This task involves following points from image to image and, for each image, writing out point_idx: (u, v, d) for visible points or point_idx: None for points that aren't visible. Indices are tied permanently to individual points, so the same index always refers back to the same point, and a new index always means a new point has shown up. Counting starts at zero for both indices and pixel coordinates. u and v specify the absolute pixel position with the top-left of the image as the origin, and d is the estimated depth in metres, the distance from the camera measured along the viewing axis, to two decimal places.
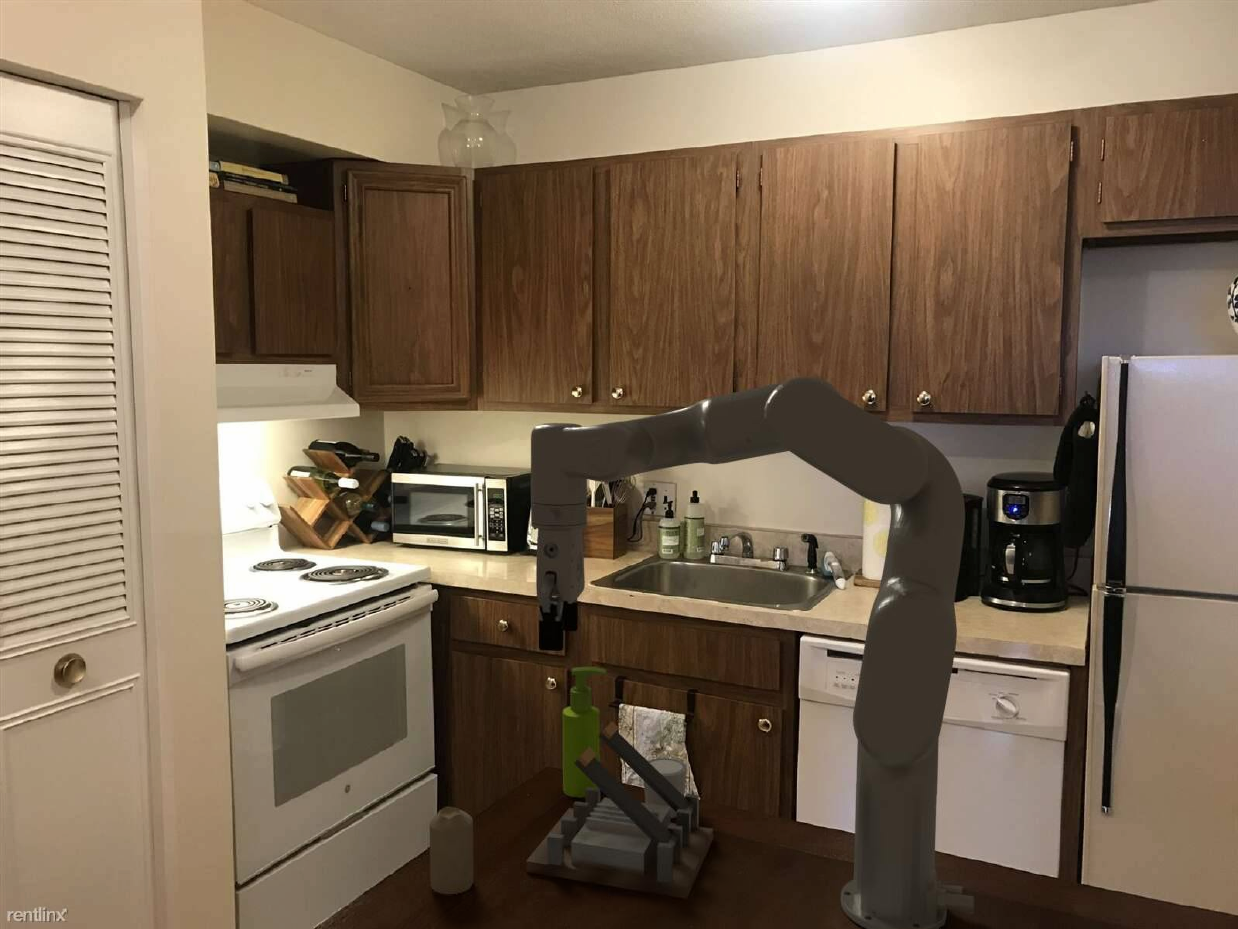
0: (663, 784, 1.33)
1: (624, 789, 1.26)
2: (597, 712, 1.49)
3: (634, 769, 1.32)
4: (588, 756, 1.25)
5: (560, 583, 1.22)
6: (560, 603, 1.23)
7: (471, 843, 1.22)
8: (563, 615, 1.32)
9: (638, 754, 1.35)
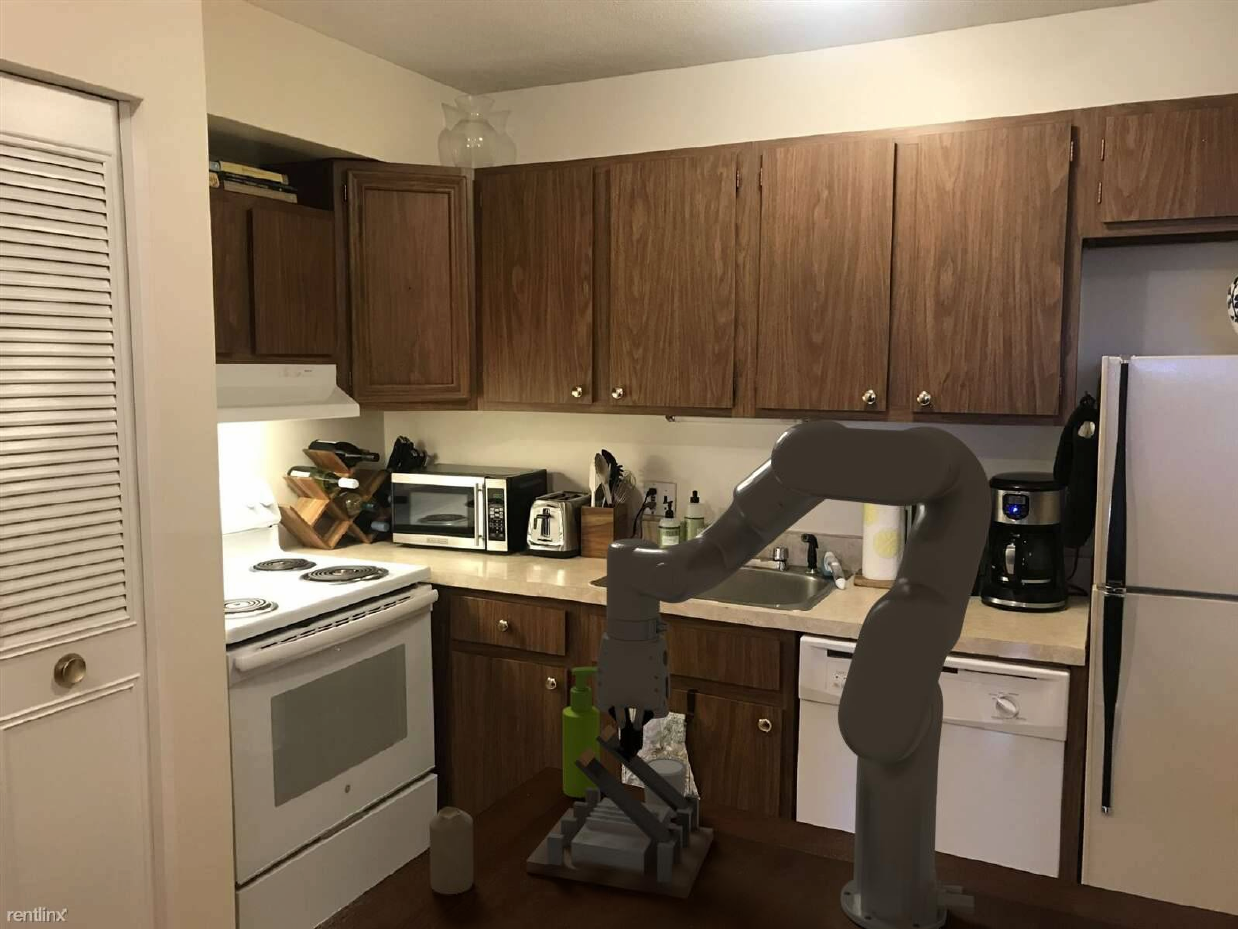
0: (662, 785, 1.33)
1: (624, 789, 1.26)
2: (597, 712, 1.49)
3: (632, 771, 1.32)
4: (588, 756, 1.25)
5: (669, 685, 1.33)
6: None
7: (471, 843, 1.22)
8: None
9: (636, 756, 1.35)
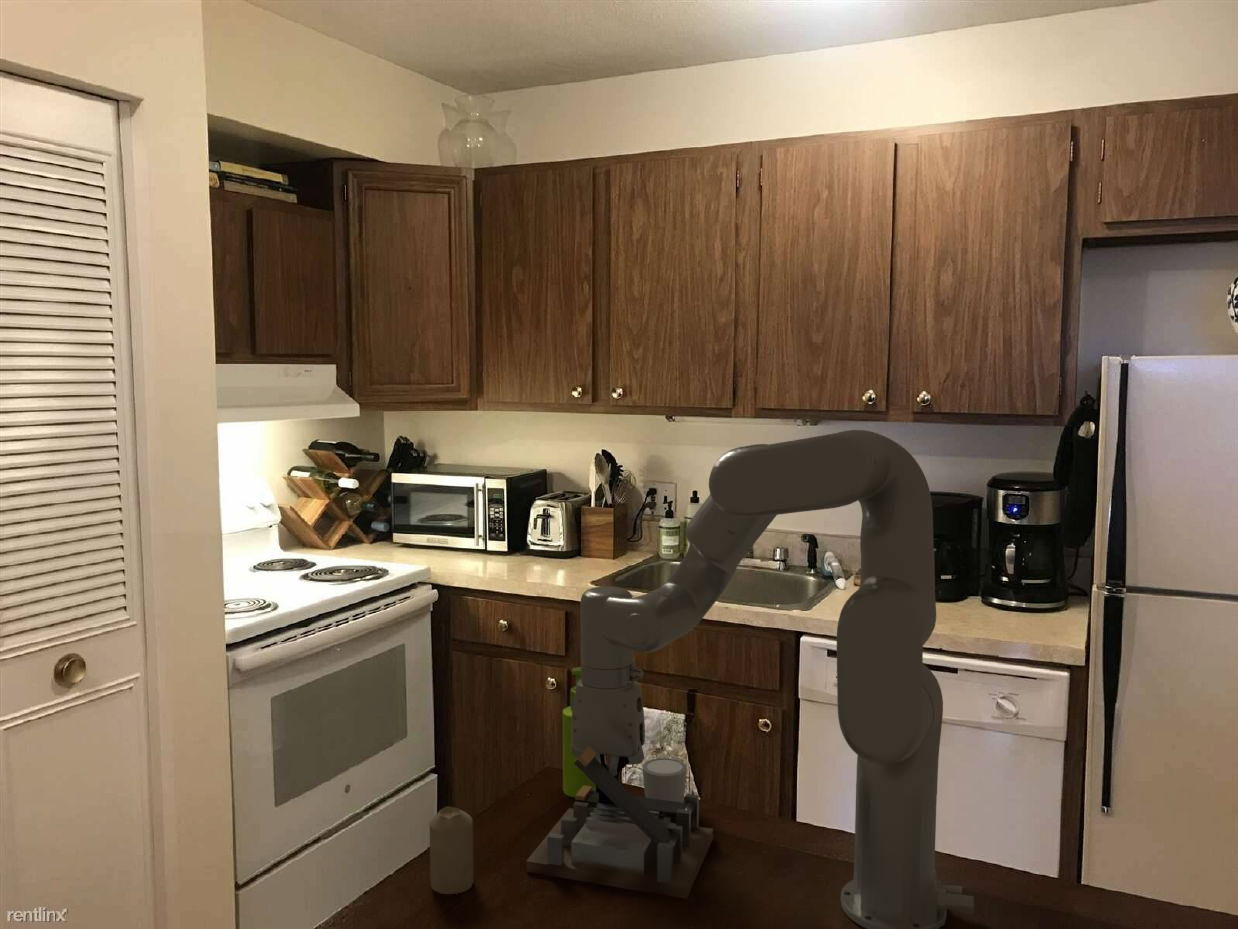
0: (654, 804, 1.34)
1: (624, 789, 1.26)
2: None
3: None
4: (588, 756, 1.25)
5: (643, 731, 1.35)
6: None
7: (471, 843, 1.22)
8: None
9: None
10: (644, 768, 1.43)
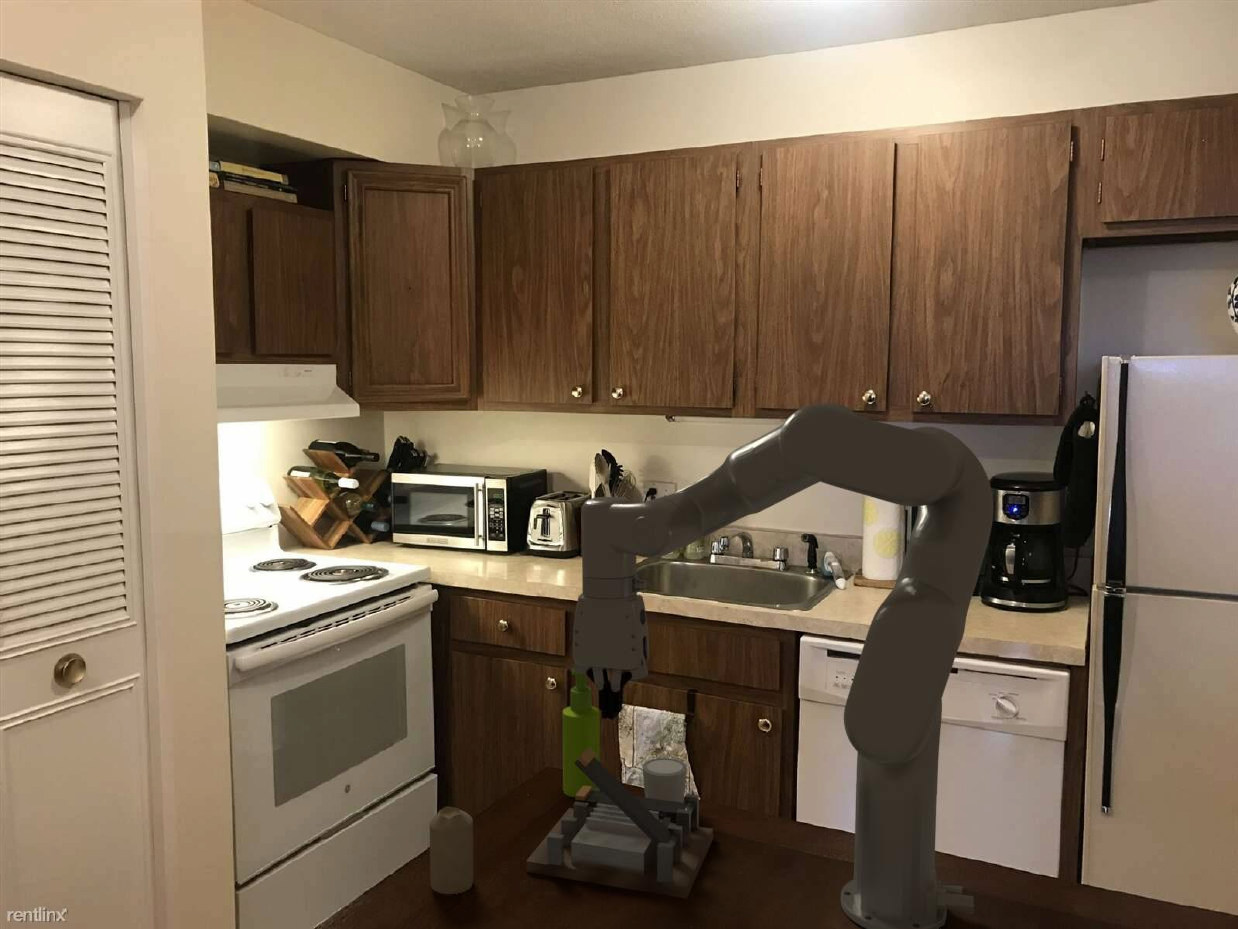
0: (654, 804, 1.34)
1: (624, 789, 1.26)
2: (597, 712, 1.49)
3: None
4: (588, 756, 1.25)
5: (647, 645, 1.30)
6: (626, 671, 1.32)
7: (471, 843, 1.22)
8: None
9: None
10: (644, 768, 1.43)
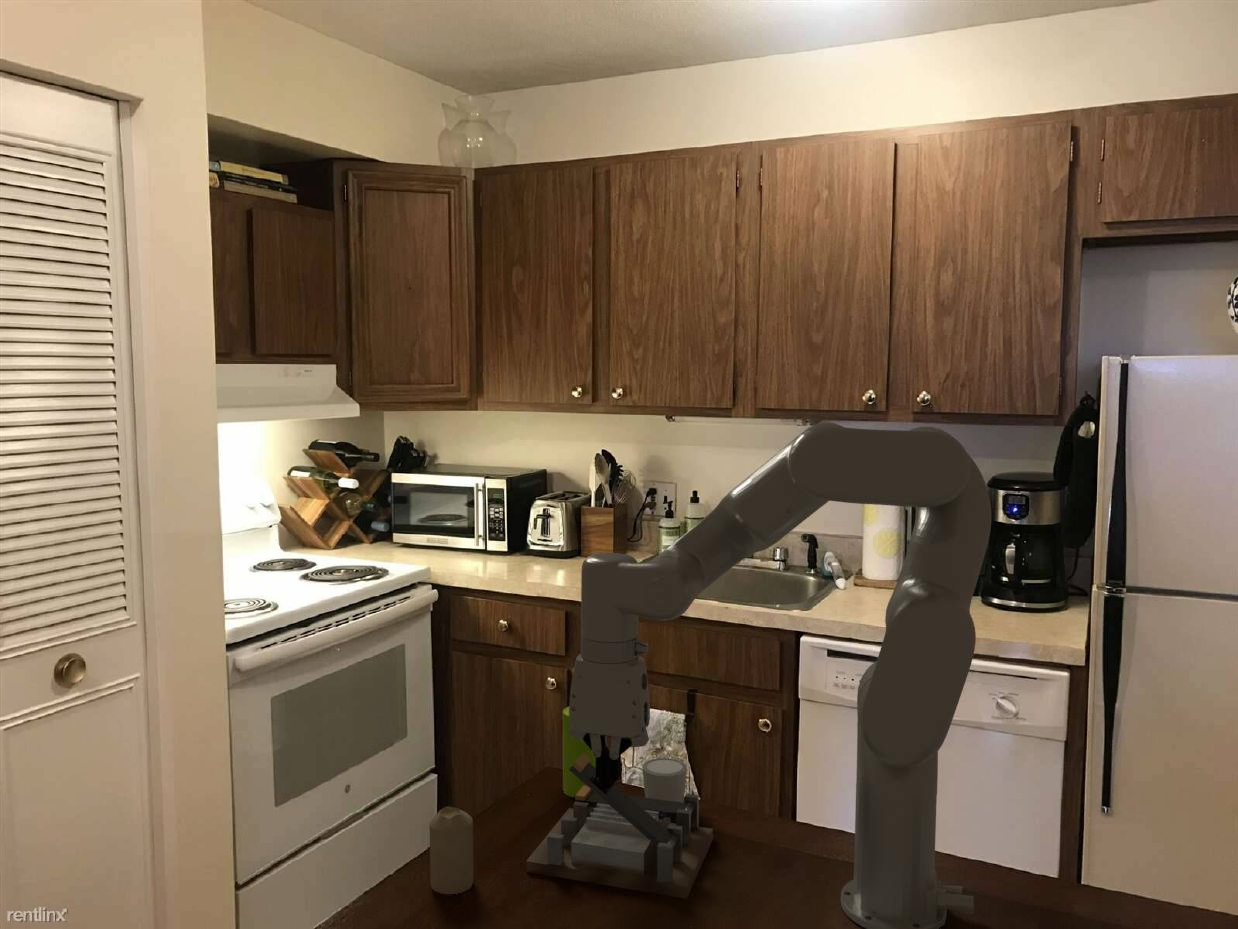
0: (654, 804, 1.34)
1: (621, 792, 1.26)
2: None
3: None
4: (583, 762, 1.25)
5: (648, 710, 1.24)
6: None
7: (471, 843, 1.22)
8: None
9: None
10: (644, 768, 1.43)
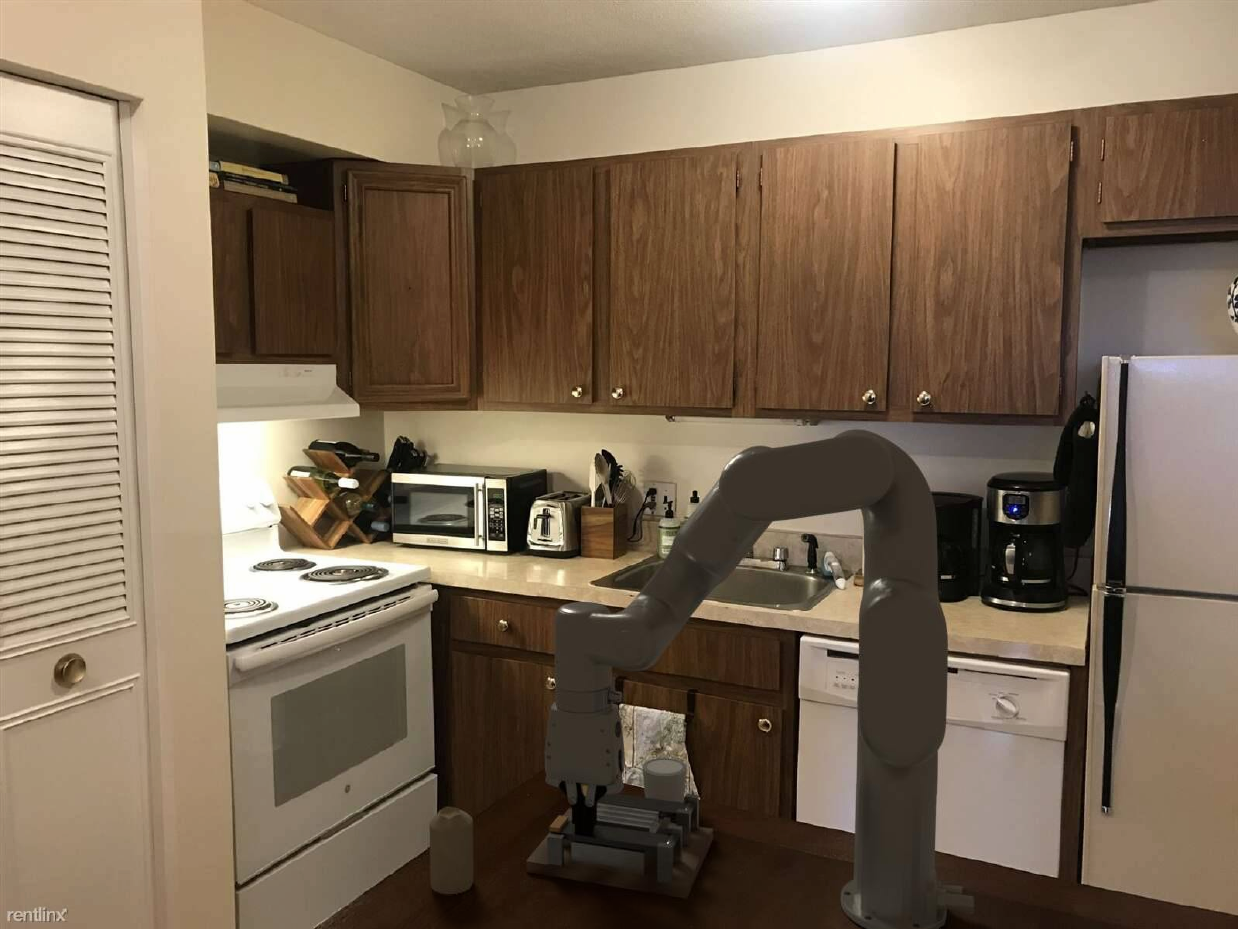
0: (654, 804, 1.34)
1: (607, 828, 1.27)
2: None
3: None
4: (558, 822, 1.27)
5: (623, 757, 1.25)
6: None
7: (471, 843, 1.22)
8: None
9: (620, 796, 1.37)
10: (644, 768, 1.43)
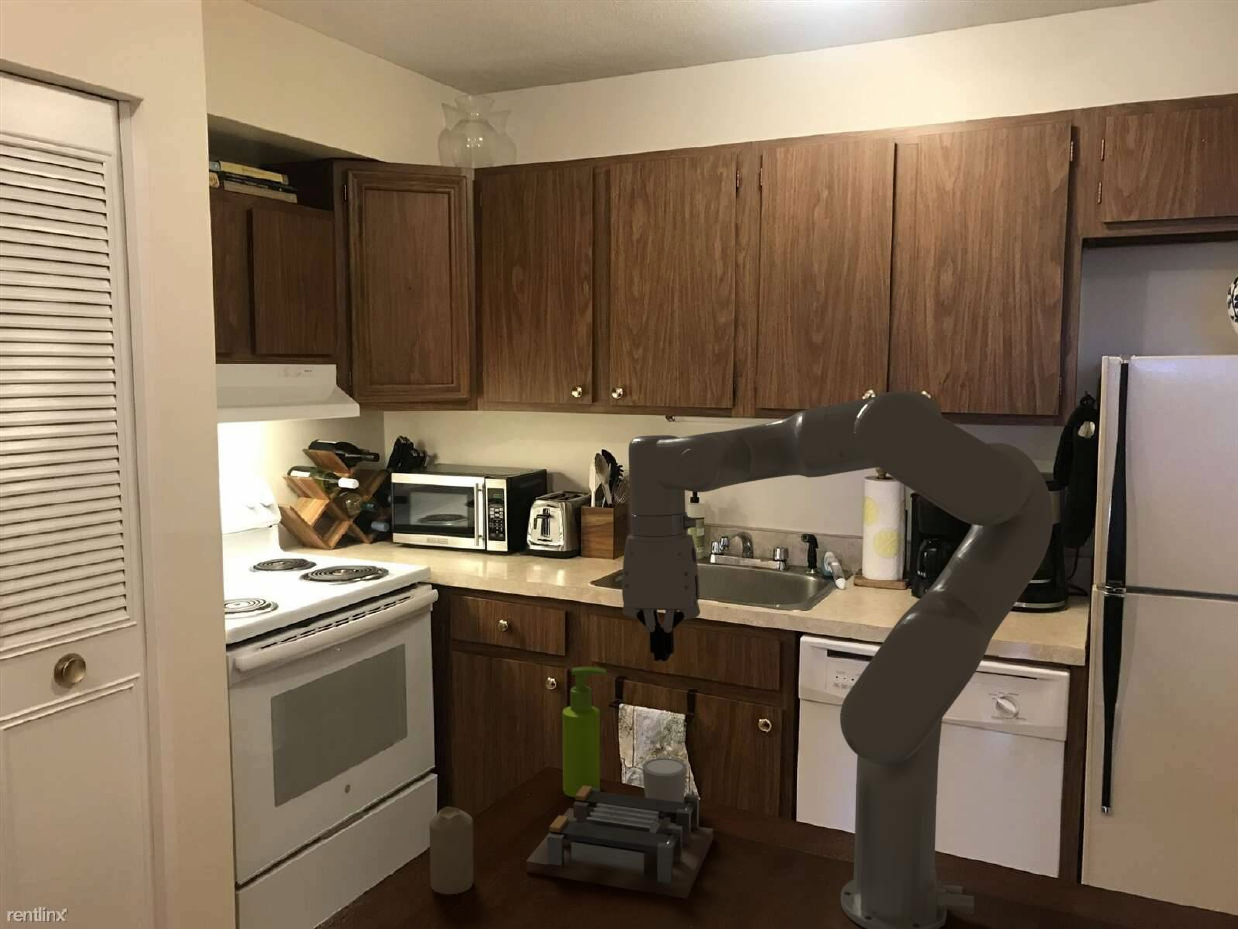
0: (654, 804, 1.34)
1: (607, 828, 1.27)
2: (597, 712, 1.49)
3: None
4: (558, 822, 1.27)
5: (698, 584, 1.29)
6: (677, 612, 1.30)
7: (471, 843, 1.22)
8: None
9: (620, 796, 1.37)
10: (644, 768, 1.43)
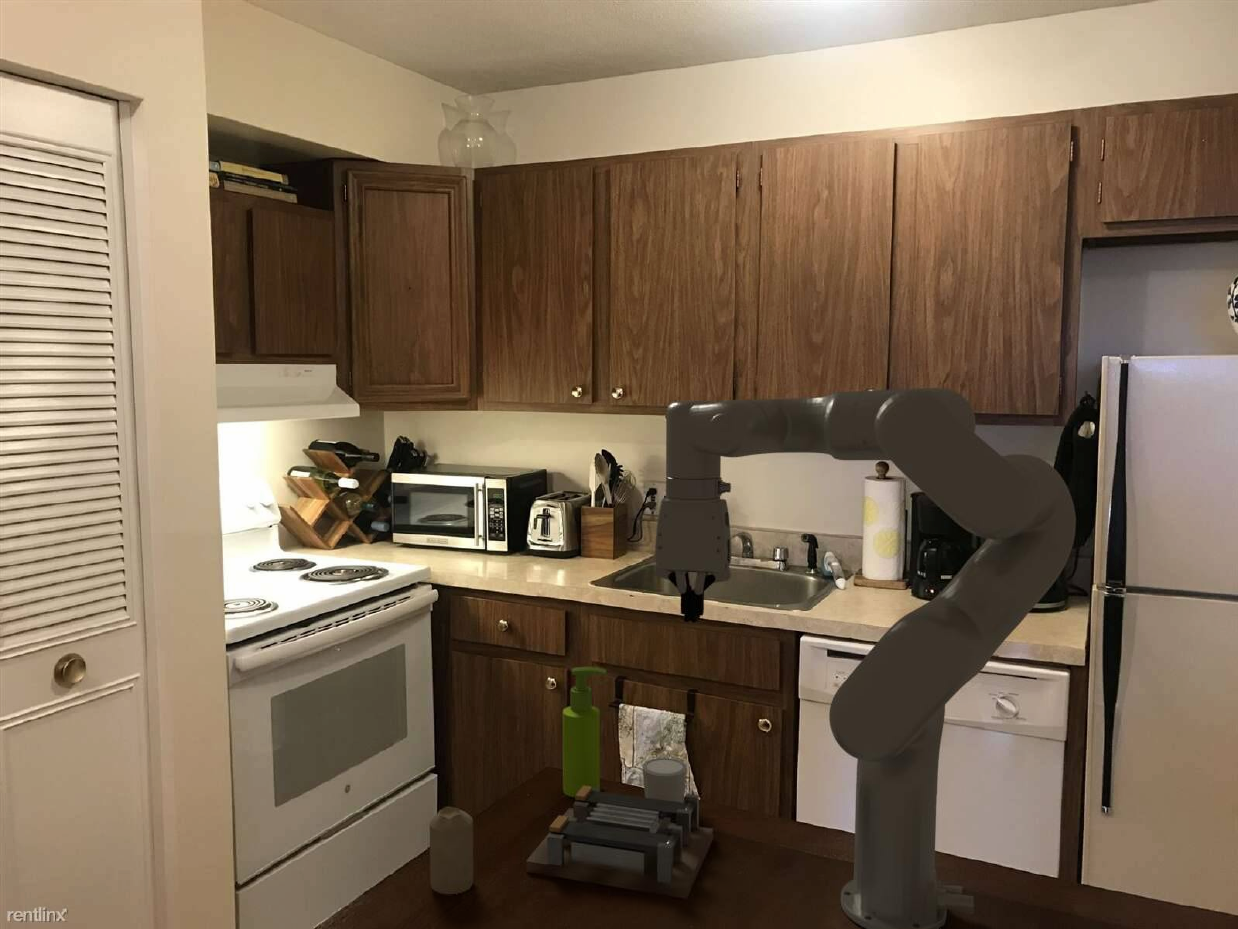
0: (654, 804, 1.34)
1: (607, 828, 1.27)
2: (597, 712, 1.49)
3: None
4: (558, 822, 1.27)
5: (730, 548, 1.31)
6: (708, 575, 1.32)
7: (471, 843, 1.22)
8: (691, 604, 1.31)
9: (620, 796, 1.37)
10: (644, 768, 1.43)
